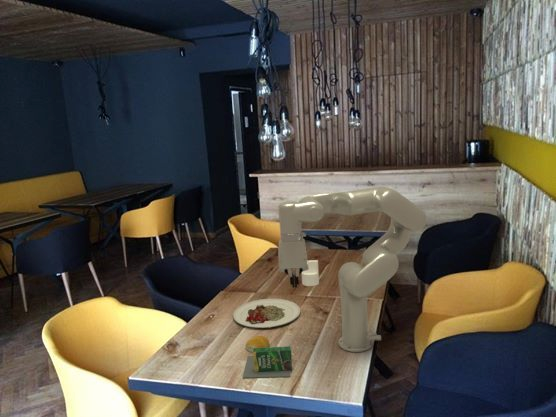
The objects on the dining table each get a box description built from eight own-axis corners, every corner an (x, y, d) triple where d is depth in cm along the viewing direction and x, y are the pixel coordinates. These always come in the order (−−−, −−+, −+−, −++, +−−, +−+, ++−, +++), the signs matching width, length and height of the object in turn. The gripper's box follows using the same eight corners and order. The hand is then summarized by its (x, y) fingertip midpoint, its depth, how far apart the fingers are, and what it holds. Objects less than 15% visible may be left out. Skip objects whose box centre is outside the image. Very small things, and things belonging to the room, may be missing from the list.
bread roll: (273, 344, 170) (272, 335, 170) (259, 355, 163) (258, 345, 163) (256, 339, 175) (255, 330, 175) (242, 349, 168) (241, 340, 167)
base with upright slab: (319, 279, 237) (318, 258, 235) (319, 285, 228) (317, 263, 226) (302, 280, 238) (301, 258, 236) (301, 286, 229) (300, 264, 227)
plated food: (306, 303, 207) (306, 296, 207) (291, 333, 179) (290, 325, 178) (246, 300, 216) (246, 294, 215) (222, 328, 187) (222, 321, 187)
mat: (291, 355, 161) (291, 354, 161) (290, 377, 147) (290, 376, 147) (247, 356, 162) (247, 355, 162) (242, 378, 149) (242, 377, 148)
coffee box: (292, 371, 151) (253, 372, 151) (291, 366, 153) (254, 367, 154) (291, 350, 149) (252, 351, 149) (291, 345, 152) (253, 347, 152)
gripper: (312, 232, 158) (315, 281, 162) (270, 235, 159) (274, 283, 162) (313, 238, 151) (316, 289, 154) (269, 240, 151) (273, 291, 155)
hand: (294, 286), depth 158 cm, fingers closed
